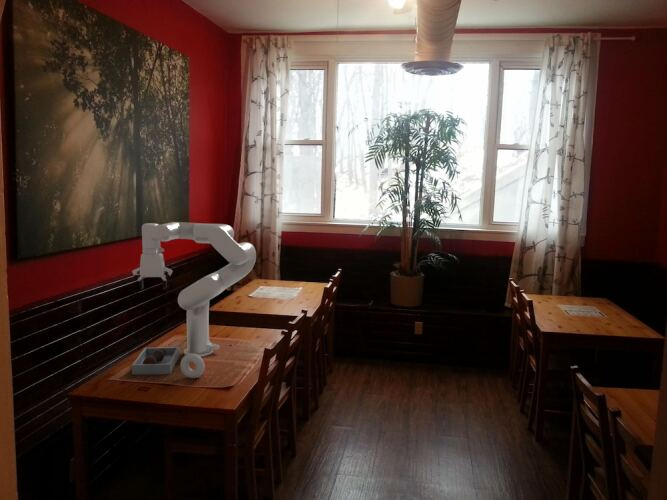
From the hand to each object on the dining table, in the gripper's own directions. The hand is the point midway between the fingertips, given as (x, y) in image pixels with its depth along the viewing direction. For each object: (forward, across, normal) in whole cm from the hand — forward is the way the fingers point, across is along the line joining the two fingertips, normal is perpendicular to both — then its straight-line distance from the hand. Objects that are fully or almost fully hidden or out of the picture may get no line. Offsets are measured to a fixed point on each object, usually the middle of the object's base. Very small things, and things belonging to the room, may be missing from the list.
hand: (153, 289), depth 239 cm
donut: (+28, -22, +34) cm, 50 cm away
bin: (+28, -5, +19) cm, 34 cm away
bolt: (+28, -5, +19) cm, 34 cm away
